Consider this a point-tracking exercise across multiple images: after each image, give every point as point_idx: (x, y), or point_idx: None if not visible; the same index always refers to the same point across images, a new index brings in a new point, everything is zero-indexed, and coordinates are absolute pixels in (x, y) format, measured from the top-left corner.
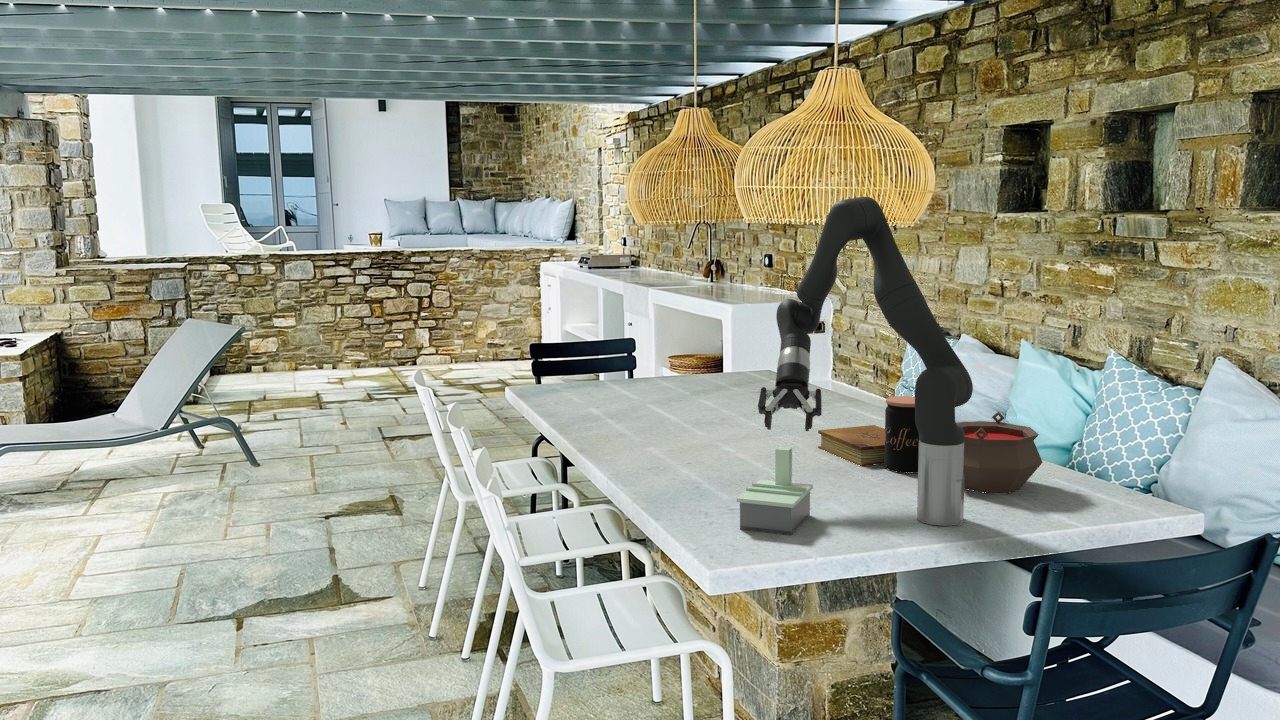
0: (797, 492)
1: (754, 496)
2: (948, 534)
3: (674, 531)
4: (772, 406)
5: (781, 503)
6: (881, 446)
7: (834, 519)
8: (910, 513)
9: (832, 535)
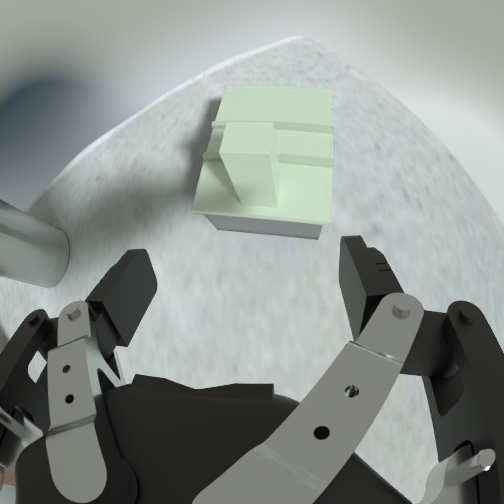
0: (219, 123)
1: (303, 102)
2: (56, 201)
3: (404, 111)
4: (373, 333)
5: (246, 87)
6: None
7: (174, 218)
8: (73, 283)
9: (180, 143)
